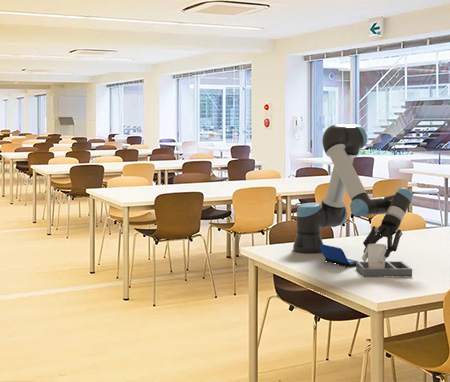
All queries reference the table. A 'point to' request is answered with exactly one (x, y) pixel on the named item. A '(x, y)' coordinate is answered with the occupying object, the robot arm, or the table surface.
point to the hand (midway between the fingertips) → (372, 261)
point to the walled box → (390, 269)
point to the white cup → (375, 255)
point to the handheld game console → (336, 256)
